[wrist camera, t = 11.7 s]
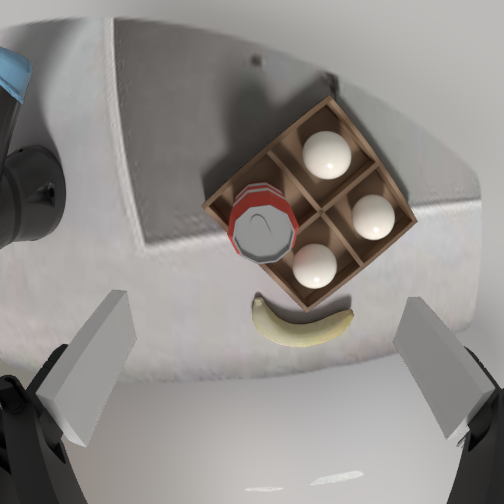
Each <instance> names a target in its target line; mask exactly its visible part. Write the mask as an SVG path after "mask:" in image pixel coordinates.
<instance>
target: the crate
mask: <svg viewBox="0 0 504 504" xmlns="http://www.w3.org/2000/svg"><path fill="white" fill-rule="evenodd" d="M321 131H331V132H334V133H337V134H339V135H340V136H342V137H343V138H344V139H345V140H346V142H347V143H348V145H349V147H350V150H351V163H350V165H349V167H348V169H347V170H346V172H345V173H344V174H342V175H341V176H339V177H337V178H334V179H322V178H319V177H316V176H315V175H313V174H312V173H311V172H310V171H309V170H308V169H307V168H306V166H305V164H304V161H303V156H302V152H303V147H304V144H305V142H306V141H307V140H308V138H309V137H310V136H312V135H313V134H315V133H317V132H321ZM262 181H266V182H268V183H269V184H271V185H273V186H275V187H277V188H279V189H280V191H281V192H282V194H283V195H284V197H285V199H286V200H287V202H288V203H289V205H290V207H291V209H292V211H293V214H294V216H295V218H296V220H297V223H298V225H299V227H298V231H297V235H296V239H295V244H294V246H293V247H292V248H291V250H290V251H289V252H288V253H286V254H285V255H284V256H283V257H282V258H281V259H279V260H278V261H277V262H272V263H264V264H258V265H259V266H260V267H261V268H262V269H263V270H264V271H265V272H266V273H267V274H268V275H269V276H270V277H271V278H272V279H273V280H274V281H275V282H276V283H277V284H278V285H279V286H280V287H281V288H282V289H283V290H284V291H285V292H286V293H287V294H288V295H289V296H290V297H291V298H292V299H293V300H294V301H295V302H296V303H297V304H298V305H299V306H300V307H301V308H302V309H303V310H304V311H305V312H306V313H308V312H309V311H310V310H312V309H313V308H314V307H316V306H317V305H318V304H320V303H321V302H322V301H324V300H325V299H326V298H328V297H329V296H330V295H331V294H333V293H334V292H335V291H337V290H338V289H339V288H340V287H342V286H343V285H344V284H345V283H347V282H348V281H349V280H350V279H352V278H353V277H354V276H355V275H357V274H358V273H359V272H360V271H362V270H363V269H364V268H365V267H366V266H368V265H369V264H370V263H371V262H372V261H374V260H375V259H376V258H377V257H378V256H379V255H381V254H382V253H383V252H384V251H385V250H386V249H388V248H389V247H390V246H391V245H392V244H393V243H394V242H396V241H397V240H398V239H399V238H400V237H401V236H402V235H403V234H405V233H406V232H407V231H408V230H409V229H410V228H411V227H412V226H413V225H414V224H416V223H417V222H418V221H417V219H416V217H415V216H414V214H413V212H412V210H411V209H410V207H409V205H408V203H407V202H406V200H405V198H404V197H403V195H402V193H401V192H400V190H399V188H398V187H397V185H396V184H395V182H394V180H393V179H392V177H391V176H390V174H389V173H388V171H387V170H386V168H385V167H384V165H383V164H382V162H381V161H380V159H379V158H378V156H377V155H376V154H375V152H374V151H373V149H372V148H371V147H370V145H369V144H368V142H367V141H366V140H365V138H364V137H363V136H362V134H361V133H360V132H359V130H358V129H357V128H356V127H355V125H354V124H353V123H352V121H351V120H350V119H349V118H348V116H347V115H346V114H345V113H344V112H343V110H342V109H341V108H340V107H339V105H338V104H337V103H336V102H335V101H334V100H333V98H332V97H331V96H330V95H329V96H327V97H326V98H324V99H323V100H321V101H320V102H319V103H318V104H316V105H315V106H314V107H312V108H311V109H310V110H309V111H307V112H306V113H305V114H304V115H302V116H301V117H300V118H299V119H297V120H296V121H295V122H294V123H293V124H291V125H290V126H289V127H288V128H287V129H285V130H284V131H283V132H282V133H281V134H279V135H278V136H277V137H276V138H275V139H273V140H272V141H271V142H270V143H269V144H268V145H266V146H265V147H264V148H263V149H262V150H261V151H260V152H258V153H257V154H256V155H255V156H254V157H253V158H252V159H250V160H249V161H248V162H247V163H246V164H245V165H244V166H243V167H242V168H240V169H239V170H238V171H237V172H236V173H235V174H234V175H233V176H232V177H231V178H229V179H228V180H227V181H226V182H225V183H224V184H223V185H222V186H221V187H220V188H219V189H218V190H217V191H216V192H214V193H213V194H212V195H211V196H210V197H209V198H208V199H207V200H206V201H205V202H204V203H203V205H202V206H201V207H202V208H203V209H204V210H205V211H206V212H207V213H208V214H209V215H210V216H211V217H212V218H213V219H214V220H215V221H216V222H217V223H218V224H219V225H220V226H221V227H222V228H223V229H224V230H225V231H226V232H227V233H228V227H229V221H230V215H231V211H232V208H233V205H234V201H235V198H236V195H237V194H238V193H239V192H240V191H241V190H242V189H243V188H244V187H245V186H246V185H247V184H248V183H254V182H262ZM372 194H373V195H379V196H382V197H383V198H385V199H386V200H387V201H388V202H389V203H390V204H391V206H392V207H393V210H394V213H395V222H394V226H393V228H392V230H391V231H390V233H389V234H388V235H386V236H385V237H383V238H381V239H378V240H370V239H366V238H364V237H362V236H361V235H360V234H358V232H357V231H356V230H355V228H354V226H353V224H352V218H351V215H352V210H353V207H354V205H355V203H356V202H357V201H358V200H359V199H360V198H362V197H364V196H366V195H372ZM308 244H321V245H324V246H326V247H327V248H329V249H330V250H331V251H332V252H333V254H334V256H335V258H336V262H337V270H336V274H335V276H334V278H333V279H332V281H331V282H330V283H329V284H327V285H326V286H324V287H321V288H316V289H314V288H308V287H305V286H303V285H302V284H301V283H299V282H298V280H297V279H296V278H295V276H294V273H293V268H292V264H293V259H294V257H295V255H296V253H297V252H298V251H299V250H300V249H301V248H302V247H304V246H306V245H308Z"/></svg>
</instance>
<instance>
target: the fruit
mask: <svg viewBox="0 0 504 504" xmlns="http://www.w3.org/2000/svg"><path fill="white" fill-rule="evenodd" d="M353 317H354V314H353V311H352V310H351V309H349V310H345V311H341V312H338V313H335V314H333V315H330V316H328V317H326V318H324V319H322V320H319V321H316V322H313V323H308V324H291V323H288V322H285V321H283V320H281V319H280V318H278V317H277V316H276V315H275V314H274V313H273V312H272V311H271V310H270V309H269V307H268V306H267V305H266V304H265V302H264V300H263V298H262V297H256V298H255V300H254V305H253V310H252V318H253V322H254V325H255V327H256V328H257V330H258V331H259V332H260V333H261V334H262V335H263V336H265V337H266V338H268V339H269V340H271V341H273V342H275V343H278V344H281V345H285V346H292V347H306V346H312V345H317V344H320V343H323V342H326V341H328V340H331V339H333V338H335V337H336V336H338V335H340V334H341V333H343V332H344V331H345V330H346V329H347V327H348V326H349V325H350V323H351V321H352V319H353Z"/></svg>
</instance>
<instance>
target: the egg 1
mask: <svg viewBox="0 0 504 504" xmlns="http://www.w3.org/2000/svg"><path fill="white" fill-rule="evenodd" d="M302 156H303V161H304V164H305V166H306V168H307V169H308V170H309V171H310V172H311V173H312V174H313V175H315V176H316V177H319V178H322V179H334V178H337V177H339V176H341V175H342V174H344V173H345V172H346V170H347V169H348V167H349V165H350V163H351V150H350V147H349V145H348V143H347V142H346V140H345V139H344V138H343V137H342V136H340V135H339V134H337V133H334V132H331V131H321V132H317V133H315V134H313V135H312V136H310V137H309V138H308V140H307V141H306V142H305V144H304V147H303V152H302Z"/></svg>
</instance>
